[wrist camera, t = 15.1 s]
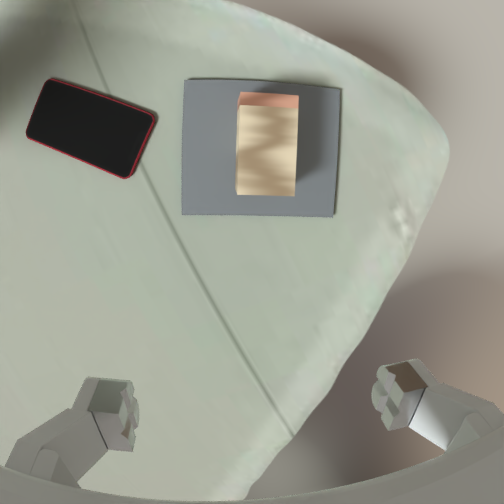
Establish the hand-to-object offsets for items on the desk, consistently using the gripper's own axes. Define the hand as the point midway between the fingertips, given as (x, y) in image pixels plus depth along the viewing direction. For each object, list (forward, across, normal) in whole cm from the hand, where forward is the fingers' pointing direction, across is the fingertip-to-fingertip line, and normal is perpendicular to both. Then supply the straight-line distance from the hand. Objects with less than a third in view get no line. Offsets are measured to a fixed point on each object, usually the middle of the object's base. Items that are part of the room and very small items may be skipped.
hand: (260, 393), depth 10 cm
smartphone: (+27, +16, -11) cm, 33 cm away
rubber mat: (+26, -3, -8) cm, 27 cm away
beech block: (+23, -3, -3) cm, 23 cm away
